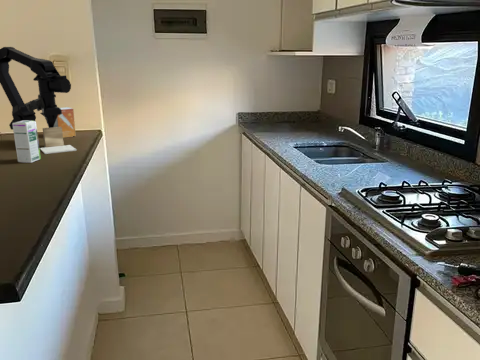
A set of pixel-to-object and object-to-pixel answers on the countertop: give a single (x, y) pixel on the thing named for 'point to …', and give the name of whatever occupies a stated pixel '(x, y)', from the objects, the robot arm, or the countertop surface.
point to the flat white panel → (57, 149)
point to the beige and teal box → (53, 137)
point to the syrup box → (26, 141)
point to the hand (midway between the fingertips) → (51, 129)
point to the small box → (66, 122)
